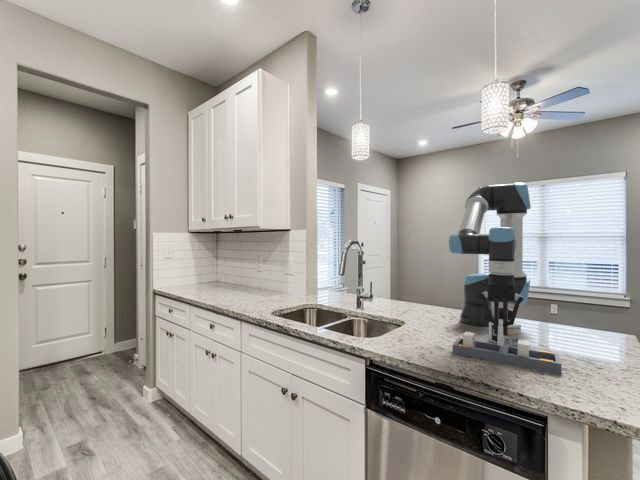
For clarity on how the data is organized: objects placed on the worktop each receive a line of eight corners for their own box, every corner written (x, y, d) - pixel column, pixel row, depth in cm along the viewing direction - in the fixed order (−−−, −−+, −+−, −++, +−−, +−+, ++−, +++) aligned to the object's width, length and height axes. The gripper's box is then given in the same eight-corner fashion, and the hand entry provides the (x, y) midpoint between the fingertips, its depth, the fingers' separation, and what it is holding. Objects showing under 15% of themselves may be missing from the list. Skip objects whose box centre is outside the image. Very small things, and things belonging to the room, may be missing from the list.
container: (504, 346, 118) (504, 311, 118) (488, 340, 125) (488, 307, 125) (521, 345, 120) (521, 310, 120) (504, 338, 127) (504, 306, 127)
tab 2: (518, 354, 106) (518, 339, 106) (528, 356, 104) (529, 341, 104) (517, 359, 102) (517, 343, 102) (528, 361, 100) (528, 345, 100)
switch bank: (458, 345, 119) (458, 336, 119) (558, 363, 102) (559, 353, 102) (452, 353, 110) (452, 344, 110) (561, 374, 94) (561, 363, 94)
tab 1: (465, 345, 115) (465, 331, 115) (474, 347, 113) (474, 332, 113) (463, 349, 111) (463, 334, 111) (472, 351, 109) (472, 336, 109)
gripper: (478, 273, 107) (477, 343, 107) (524, 276, 100) (523, 351, 100) (481, 271, 113) (480, 338, 113) (524, 274, 106) (524, 345, 106)
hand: (500, 344), depth 107 cm, fingers closed
